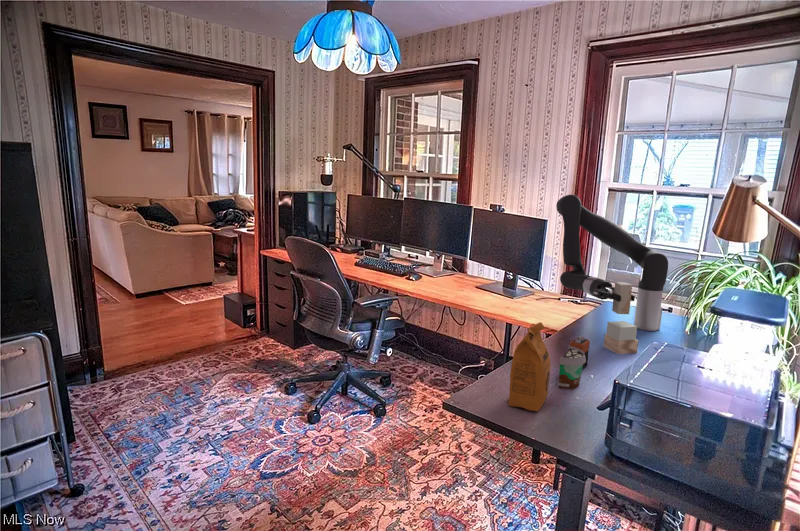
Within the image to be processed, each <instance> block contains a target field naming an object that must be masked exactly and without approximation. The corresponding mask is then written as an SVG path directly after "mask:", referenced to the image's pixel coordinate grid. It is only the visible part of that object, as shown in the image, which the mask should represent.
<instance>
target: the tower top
mask: <svg viewBox="0 0 800 531" xmlns="http://www.w3.org/2000/svg"><path fill="white" fill-rule="evenodd" d="M637 330H638V328H637V326H634V324H631V323H630V322H627V321H624V320H618V321H607V326H606V333H605V334H606V335H608V336H610V337H612V338H614V339H616V340H618V341H625V340H636V339H637V332H638V331H637Z"/></svg>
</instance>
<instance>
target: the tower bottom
mask: <svg viewBox="0 0 800 531" xmlns="http://www.w3.org/2000/svg"><path fill="white" fill-rule="evenodd" d="M638 347H639V339H637V338H636V340H625V341H618V340H616V339H614V338H612V337H610V336H608V335H606V333H605V334H604V339H603V348H606V349H608V350H609V351H611V352H613V353H615V354H617V355H625V354H637V353H638V349H639V348H638Z"/></svg>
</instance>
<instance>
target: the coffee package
mask: <svg viewBox="0 0 800 531" xmlns="http://www.w3.org/2000/svg"><path fill="white" fill-rule="evenodd" d="M544 329H545V325H544V324H543V323H542V322H538V323H536V324H534V325H532V326H529V327H528V331H527V333H526V335H525V336H524V337H523V338H522V340H521V341H520V342H519V343H518V344H517V346H516V347H515V350H514V352H513V356H512V361H511V367H510V374H509V394H508V403H507V404H508V406H510V407H512V408H514V407H515V408H522V409H524V410H527V411H530V412H531V411H535V412H538V411H540V410H541V408H542V406H543V405H544V403H545V402H546V399H547V397H548V395H549V386H550V385H549V384H550V378H551V377H550V374H551V364H552V363H551V358H550V357H551V356H550V352H549V351H548V348H547V346H546V344H545V343H544V341H543V338H542V332H541V331H543V330H544Z"/></svg>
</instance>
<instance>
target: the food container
mask: <svg viewBox="0 0 800 531" xmlns="http://www.w3.org/2000/svg"><path fill="white" fill-rule="evenodd" d="M567 348H568V349H567V351H566V352H564V354H563V355H562V356H560V358H559V363H558V364H559V368H558V369H559V370H558V383H557V384H558V386H557V388H558V389H562V390H563V389H564V390H574V389H575V390H576V389H577V388H579V386H580V382H581V376H582V372H583V369H582V367H583V364H584V363H585V362H586V358H585V354H584V352H583V351H582V350H580V349H578V348H575V347H571V346H570V345H568V347H567Z"/></svg>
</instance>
